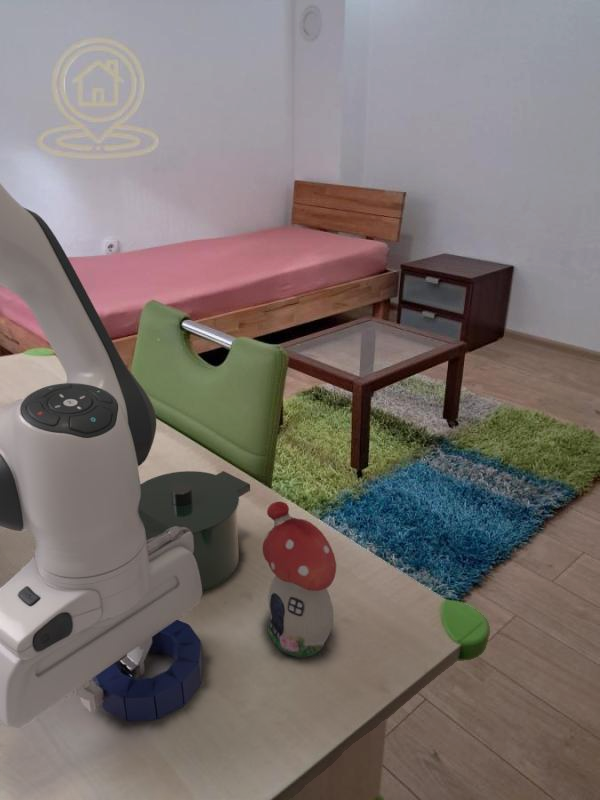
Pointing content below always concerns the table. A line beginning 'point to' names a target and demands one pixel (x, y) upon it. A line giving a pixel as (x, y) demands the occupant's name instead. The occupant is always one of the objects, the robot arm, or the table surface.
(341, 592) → the table surface
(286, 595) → the decorative ornament
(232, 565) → the pot
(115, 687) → the tape roll
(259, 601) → the table surface
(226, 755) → the table surface
